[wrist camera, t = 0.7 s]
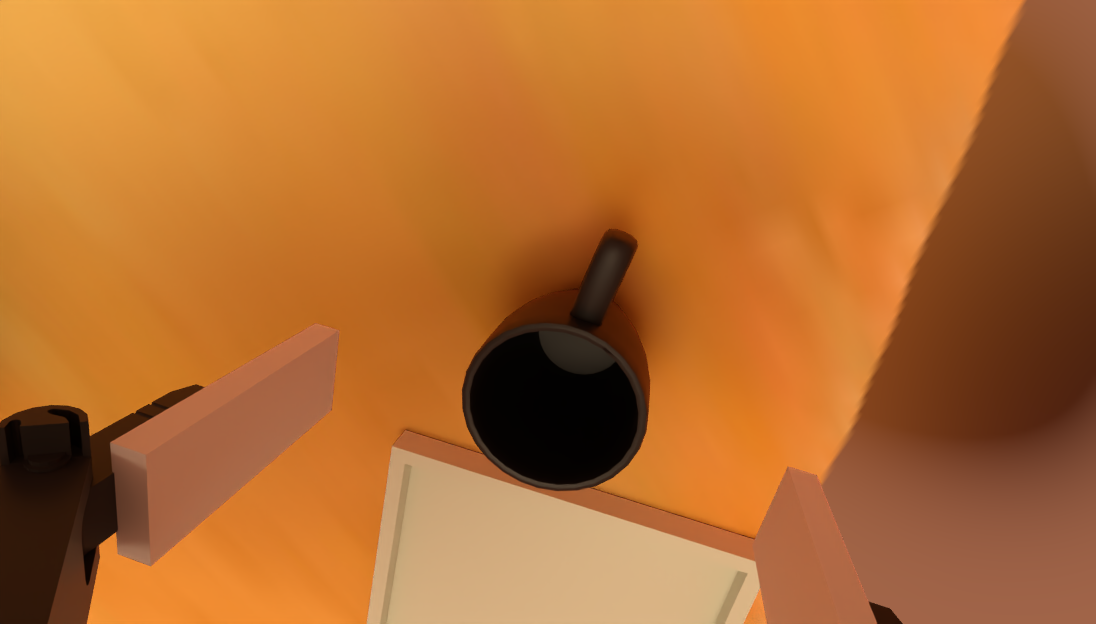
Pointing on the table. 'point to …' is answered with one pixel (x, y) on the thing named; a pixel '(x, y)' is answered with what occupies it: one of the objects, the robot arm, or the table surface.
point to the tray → (542, 551)
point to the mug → (563, 382)
